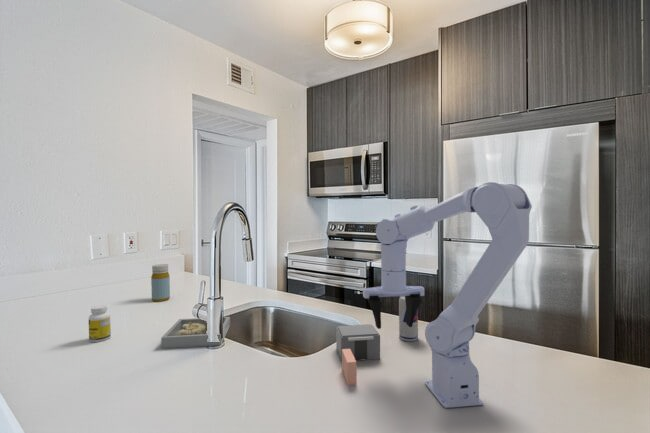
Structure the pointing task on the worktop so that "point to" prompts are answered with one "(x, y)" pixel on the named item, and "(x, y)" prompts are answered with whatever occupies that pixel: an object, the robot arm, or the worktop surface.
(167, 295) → the bottle
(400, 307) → the energy drink
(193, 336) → the tray
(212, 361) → the worktop surface
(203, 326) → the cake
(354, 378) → the pink rectangular block
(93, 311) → the supplement bottle
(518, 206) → the robot arm
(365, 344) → the dispenser
